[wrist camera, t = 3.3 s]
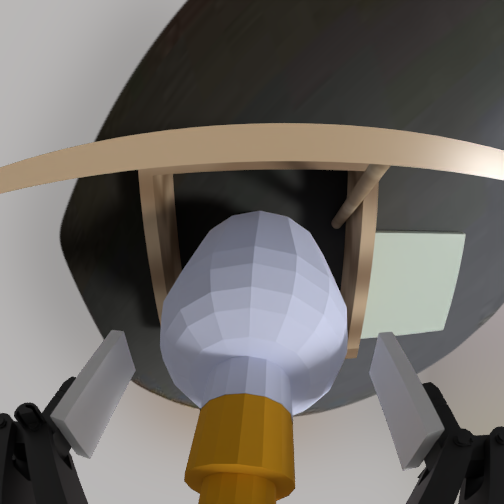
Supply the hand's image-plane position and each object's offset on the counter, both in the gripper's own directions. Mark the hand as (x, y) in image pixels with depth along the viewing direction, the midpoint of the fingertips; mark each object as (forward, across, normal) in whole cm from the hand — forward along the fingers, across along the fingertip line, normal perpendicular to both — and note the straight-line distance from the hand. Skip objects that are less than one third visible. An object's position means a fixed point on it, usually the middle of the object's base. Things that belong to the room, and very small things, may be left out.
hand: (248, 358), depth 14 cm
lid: (+15, 0, +10) cm, 18 cm away
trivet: (+15, +16, -4) cm, 23 cm away
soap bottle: (+16, 0, 0) cm, 16 cm away
